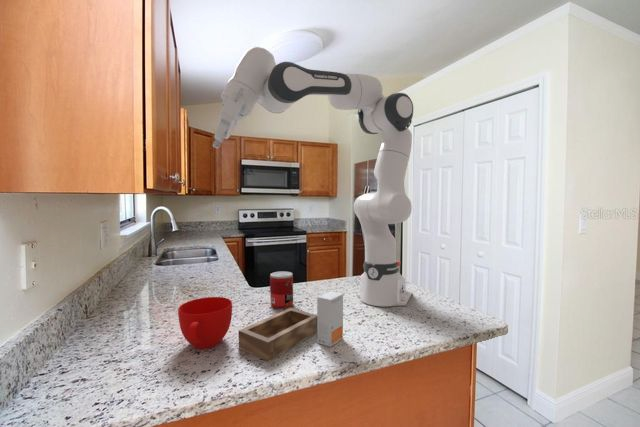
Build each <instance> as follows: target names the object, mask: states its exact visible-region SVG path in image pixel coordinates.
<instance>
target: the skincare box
mask: <svg viewBox="0 0 640 427" xmlns="http://www.w3.org/2000/svg"><path fill="white" fill-rule="evenodd" d="M316 300H317V301H316V303H317V304H316V306H317V307H316V308H317V309H316V310H317V314H316V315H317V333H316V335H317V336H316V339H317V340H316V342H317V343H318V344H320V345H324V346H326V347H329V348H330V347H333V346H334V345H335V344H337V343H338V342H340V341H342V340H343V339H344V294H343V293H339V292H334V291H328V292H326V293H322V295H320V296H317V298H316Z"/></svg>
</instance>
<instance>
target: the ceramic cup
mask: <svg viewBox="0 0 640 427" xmlns="http://www.w3.org/2000/svg"><path fill="white" fill-rule="evenodd" d="M177 314H178V315H177V316H178V323H179V328H180V330H181V331H180V332H181V333H182V336H183V337H184V339H185V340H186V342H187V343H188V344H190V345H191V346H193V348H195V349H196V350H207V349H211V348H214V347H216V346H218V345H219V344H220V343H221V341H222V340H223V339H224V338H225V336H226V334H227V333H228V332H229V329H230V327H231V322H232V316H233V315H232V314H233V301H232V300H231V299H230V298H228V297H227V298H226V297H224V296H222V297H221V296H210V297H209V296H208V297H207V296H206V297H201V298H195V299H192V300H189V301H185V302H184V303H182V304H181V305H180V306H179V307H178V309H177Z"/></svg>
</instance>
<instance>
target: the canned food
mask: <svg viewBox="0 0 640 427" xmlns="http://www.w3.org/2000/svg"><path fill="white" fill-rule="evenodd" d="M293 274H294V273H293V272H291V271H284V270H283V271H280V270H279V271H275V272H272V273H270V275H269V286H270V287H269V290H270V291H269V293H270V295H269V296H270V297H269V298H270V306H271V307H272V308H274V309H279V308H280V309H281V308H283V309H289V308H292V306H293V304H294V275H293ZM280 309H279V310H280Z"/></svg>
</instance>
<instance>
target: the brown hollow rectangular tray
mask: <svg viewBox="0 0 640 427" xmlns="http://www.w3.org/2000/svg"><path fill="white" fill-rule="evenodd" d="M237 333H238V349H240V350H242V351H243V352H246V353H248V354H250V355H251V356H252V355H253V356H255V357H257V358H259V359H261V360H263V361H266V362H268V363H269V362H270V361H272V360H274V359H276V358H277V357H279V356H280V355H283V354H284V353H286V352H287V351H289V350H291V349H292V348H294V347H296V346H297V345H299V344H300V343H302V342H304V341H306V340H307V339H309V338H310V337H312V336H313V335H315V334H316V335H317V314H314V313H311V312H307V311H303V310H300V309H296V308H292V307H288V308H286V309H285V310H283V311H281V312H280V311H279V312H277V313H276V314H273V315H271V316H269V317H267V318H266V317H265V318H264V319H261V320H259V321H258V322H255V323H253V324H250V325H248V326H245V327H244V328H241V329H240V330H238V331H237Z"/></svg>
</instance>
